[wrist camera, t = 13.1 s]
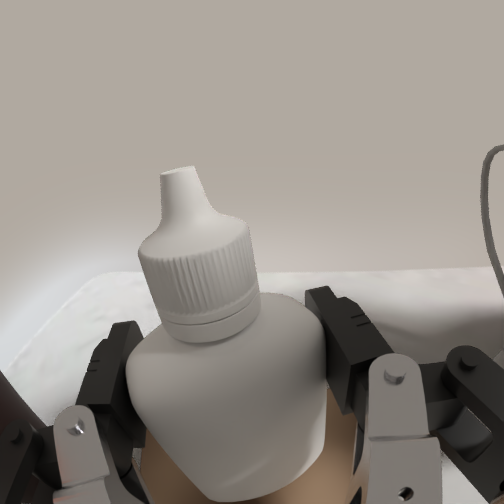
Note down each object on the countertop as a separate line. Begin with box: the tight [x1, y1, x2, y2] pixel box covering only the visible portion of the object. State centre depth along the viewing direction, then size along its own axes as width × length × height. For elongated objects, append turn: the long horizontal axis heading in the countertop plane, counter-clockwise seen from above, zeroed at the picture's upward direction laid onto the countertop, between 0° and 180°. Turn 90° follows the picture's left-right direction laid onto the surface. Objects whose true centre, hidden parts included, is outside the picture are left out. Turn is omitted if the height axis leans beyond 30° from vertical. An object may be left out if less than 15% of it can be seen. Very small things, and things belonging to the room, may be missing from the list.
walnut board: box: [140, 389, 404, 504], centre depth 11 cm, size 12×9×1 cm
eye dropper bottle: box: [126, 166, 327, 502], centre depth 8 cm, size 4×6×12 cm
